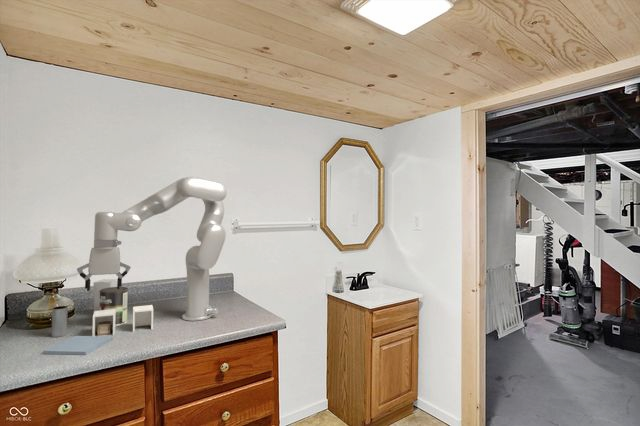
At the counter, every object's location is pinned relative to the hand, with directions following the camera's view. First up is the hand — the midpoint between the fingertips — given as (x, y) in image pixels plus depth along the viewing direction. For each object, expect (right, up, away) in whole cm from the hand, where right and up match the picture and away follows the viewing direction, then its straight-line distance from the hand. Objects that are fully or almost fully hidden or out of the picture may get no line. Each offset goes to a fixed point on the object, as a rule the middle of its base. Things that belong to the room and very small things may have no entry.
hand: (103, 289), depth 131 cm
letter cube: (0, -17, 0) cm, 17 cm away
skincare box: (-13, -17, +23) cm, 32 cm away
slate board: (0, -17, -13) cm, 21 cm away
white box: (0, -17, 0) cm, 17 cm away
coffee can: (-4, -17, +12) cm, 21 cm away
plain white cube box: (+11, -17, +7) cm, 21 cm away
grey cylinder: (-15, -17, -3) cm, 23 cm away
